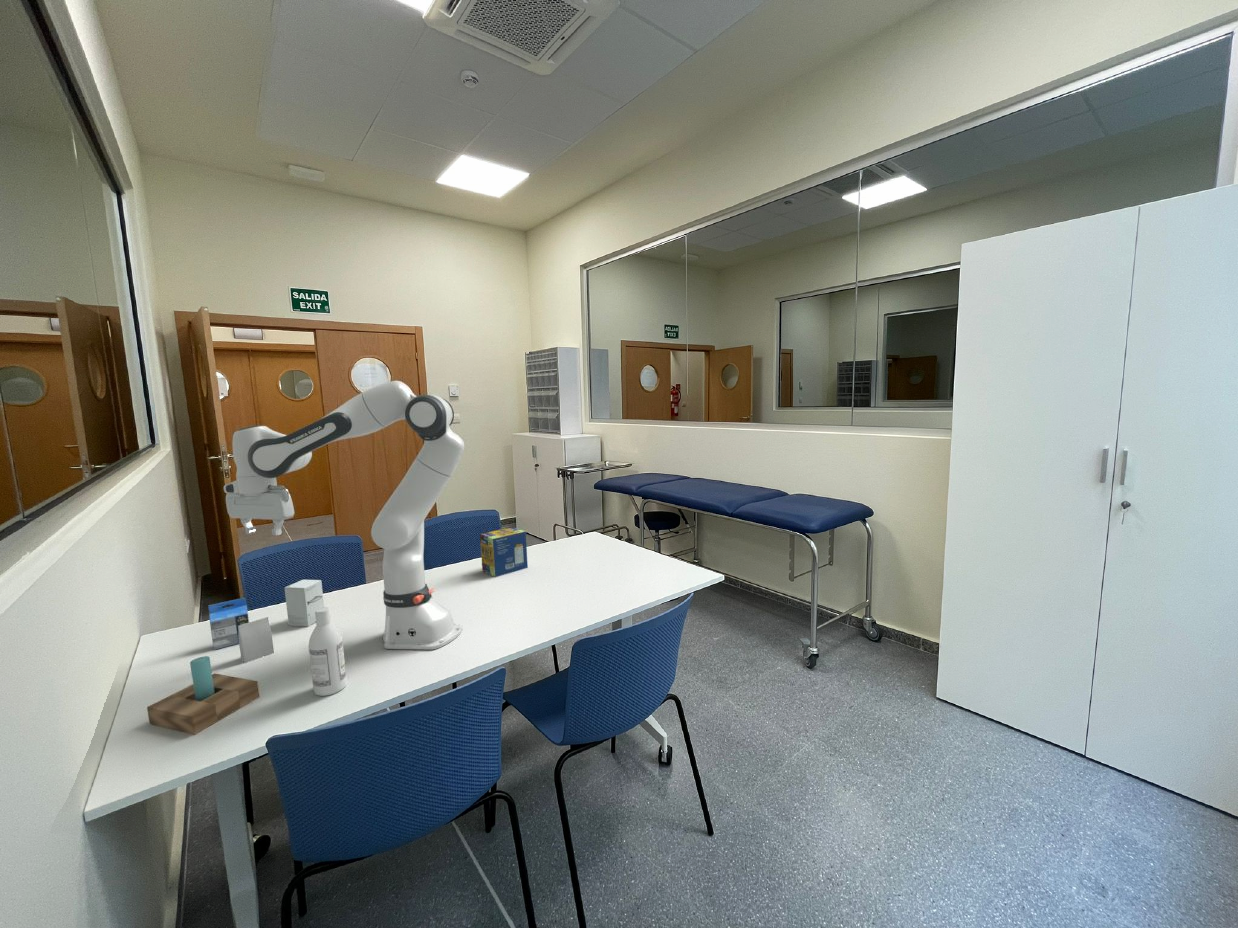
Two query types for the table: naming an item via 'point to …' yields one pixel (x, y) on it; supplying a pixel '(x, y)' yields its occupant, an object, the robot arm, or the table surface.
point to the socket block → (203, 704)
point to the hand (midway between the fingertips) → (263, 534)
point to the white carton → (255, 640)
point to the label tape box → (227, 622)
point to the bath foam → (326, 656)
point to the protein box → (503, 551)
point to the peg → (202, 678)
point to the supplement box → (303, 602)
